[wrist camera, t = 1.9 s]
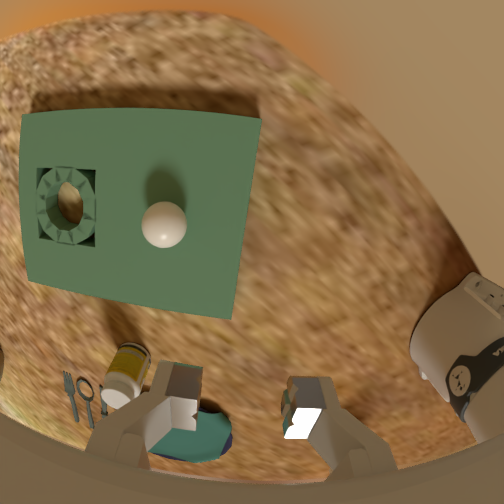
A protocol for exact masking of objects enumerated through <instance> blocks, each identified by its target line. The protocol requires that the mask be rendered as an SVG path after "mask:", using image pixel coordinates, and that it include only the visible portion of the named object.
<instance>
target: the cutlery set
mask: <svg viewBox="0 0 504 504" xmlns="http://www.w3.org/2000/svg"><path fill="white" fill-rule="evenodd" d="M63 374H64V384H65V391H66V392H67V393H68V395H67V396H69V397H70V401H71V404H72V408H73V414H74V418H75V421H76V422H79V417H78V413H77V408H76V404H75V401H74V398H73V395H74V394H75V389H74V385H73V381H72V378H71V374H70V373H69V376H68V373H67V372H66V375H67V379H66V375H65V371H63ZM69 377H70V380H69ZM82 381H83V380H81V379H80V380H79V381H78V382H77V390H78V392H79V395H80V396H81V397H82V398H83V399H84V400H85V401H87V411H88V418H89V424H90V428H92V429H94V427H95V426H94V423H93V419H92V415H91V410H90V405H89V402H90V401H92V400H93V397H94V393H93V396H92V397H90V398H89V397H86V396H85V395H84V394H83V393H82V392H81V390H80V388H79V383H81V382H82ZM83 382H85V383H87V382H86V381H83ZM87 384H88V383H87ZM88 385H89V384H88ZM89 386H90V385H89ZM90 388H91V387H90ZM102 388H103V387H102V386H101V385H100V395H101V391H102ZM91 390H92V388H91ZM92 392H93V390H92ZM139 395H140V394H139ZM101 403H102V412H101V414H102V418H105V417H106V416H107V414H108V412H106V409H107V403H106V402H105V401H104V400H103V399H102V397H101ZM231 428H232V426H231V422H230V421H229V419H228V418H227V417H226V416H225V415H224V414H223V413H222V412H221V413H217V414H212V413H210V412H209V411H207V410H205V409H203V408H201V407H199V408H198V419H197V426H196V431H192V430H184V429H177V428H172V429H171V430H170V431H169V432H168V433H167V434H166V435H165V436H164V437H163V438H162V439H161V440H159V441H158V442H157V443H156V444H155V445H154V446H153V447H152V448H151V449H150V450H149V451H148V452H151V453H153V454H156V455H159V456H162V457H165V458H168V459H174V460H180V461H189V462H192V463H198V462H200V463H201V462H206V461H211V460H215V459H219V457H220V456H221V455H223V454H225V453H226V452H227V451H228V450H229V448H230V447H231V445H232V434H231Z"/></svg>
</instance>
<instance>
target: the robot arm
mask: <svg viewBox="0 0 504 504" xmlns="http://www.w3.org/2000/svg"><path fill="white" fill-rule="evenodd" d="M410 354H411V357H412V359H413V361H414V362H415V363H416V364H417V365H418V366H419V374H420V376H421V377H422V378H423V379H428V380H429V381H430V382H431V383H432V385H433V386H434V387H435V388H436V390H437V391H438V392H439V393H440V395H441V396H442V397H443V398H444V400H445V401H447V402H450V404H451V405H452V407H453V409H454V412H455V413H456V415H457V416H458V417H459V418H460V420H461V421H462V422H465V423H467V425H468V426H469V428H470V430H471V432H472V433H473V435H474V437H475V439H476V441H477V442H478V444H477V445H475V446H472V447H470V448H468V449H465V450H463V451H459V452H457V453H454V454H451V455H448V456H445V457H442V458H439V459H436V460H433V461H429V462H426V463H423V464H419V465H415V466H412V467H408V468H404V469H400V470H398V468H397V466H396V463H395V460H394V457H393V455H392V452H391V449H390V447H389V444H388V443H387V442H385V441H384V440H383V439H382V438H380V437H379V436H378V435H377V434H375V433H374V432H373V431H372V430H370V429H369V428H368V427H367V426H365V425H364V424H363V423H362V422H360V421H359V420H358V419H357V418H356V417H354V416H353V415H352V414H351V413H349V412H348V411H347V410H346V409H341V406H340V403H339V400H338V397H337V394H336V391H335V388H334V385H333V381H332V379H331V378H330V377H312V376H289V378H288V380H287V389H286V390H285V391H284V392H283V395H282V400H281V415H282V416H283V417H284V418H285V419H284V422H283V431H284V438H305V439H307V440H308V442H309V443H310V444H311V445H312V446H313V448H314V449H315V450H316V451H317V452H318V453H319V455H320V456H321V457H322V458H323V459H324V460H325V462H326V463H327V464H328V465H329V466H330V467H331V468H332V470H333V472H332V473H331V474H330V475H329V476H328V477H327V479H326V480H325V481H324V482H314V483H295V484H252V483H233V482H220V481H210V480H202V479H195V478H188V477H181V476H176V475H170V474H165V473H160V472H155V471H152V470H151V467H150V463H149V459H148V455H147V452H148V451H149V450H150V449H151V448H152V447H153V446H154V445H155V444H156V443H157V442H158V441H159V440H161V439H162V438H163V437H164V436H165V435H166V434H167V433H168V432H169V431H170V430H171V429H172V428H177V429H184V430H192V431H196V426H197V419H198V408H199V405H200V397H201V388H202V383H201V382H202V375H203V367H199V366H193V365H187V364H182V363H177V362H170V361H165V360H160V362H159V364H158V367H157V370H156V373H155V376H154V379H153V382H152V385H151V388H150V391H149V392H143V393H142V394H140V395H139V396H137V397H136V398H134V399H133V400H131V401H130V402H128V403H127V404H125V405H123V406H122V407H120V408H119V409H117V410H116V411H114V412H113V413H111V414H109V415H108V416H106V417H105V418H103V419H101V420H100V421H98V422H97V423H96V425H95V427H94V429H93V432H92V434H91V437H90V439H89V442H88V444H87V447H86V449H85V452H84V451H81V450H79V449H76V448H73V447H71V446H68V445H66V444H63V443H61V442H58V441H56V440H54V439H51V438H49V437H47V436H45V435H42V434H40V433H38V432H36V431H34V430H32V429H30V428H28V427H26V426H24V425H22V424H20V423H18V422H16V421H15V420H13V419H11V418H9V417H7V416H6V415H4V414H2V413H0V504H504V289H503V288H502V287H500V286H498V285H496V284H495V283H493V282H491V281H489V280H488V279H486V278H484V277H482V276H481V275H479V274H477V273H475V272H471V273H470V274H468V275H467V276H466V277H465V278H464V280H463V281H462V282H461V283H460V284H459V285H458V286H457V287H456V288H454V289H453V290H451V291H450V292H448V293H446V294H445V295H443V296H442V297H441V298H439V299H438V300H437V301H436V302H435V303H434V304H433V305H432V306H431V307H430V308H429V309H428V310H427V312H426V313H425V314H424V315H423V317H422V318H421V320H420V321H419V323H418V325H417V326H416V328H415V331H414V333H413V335H412V339H411V343H410Z"/></svg>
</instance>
